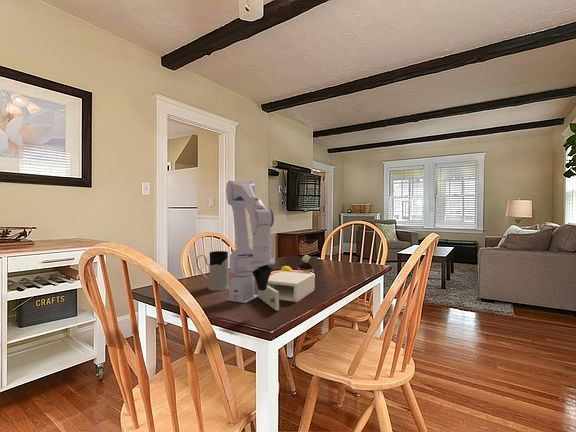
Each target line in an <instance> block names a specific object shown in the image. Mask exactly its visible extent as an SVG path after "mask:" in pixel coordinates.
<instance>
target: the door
mask: <svg viewBox="0 0 576 432" xmlns="http://www.w3.org/2000/svg"><path fill="white" fill-rule="evenodd" d="M257 295H258V297H257V298H259V299H260V300H262V302H264V303H265V304H267V305H268V306H269V307H271V308H272V309H273V310H275V311H279V310H280V300H279V292H278V291H277V290H275V289H273V288H272V287H270V286H269V285H267V288H266V290H264V291H262V290H258V289H257Z"/></svg>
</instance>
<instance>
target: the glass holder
mask: <svg viewBox="0 0 576 432" xmlns="http://www.w3.org/2000/svg"><path fill="white" fill-rule="evenodd" d="M201 256H202V257H203V258H204V259H205V264H206V266H208V271H209V272H208V273H209V278H208V276H207V275H205V274H204V273H203V271H201V269H200V266H199V262H198V261H199V257H201ZM196 267H197V271H199V273H200V274H201V275H202V276H203V277H204V278H205V279H207V281H208V283H209V285H208V290H210V291H225V290H229V253H228V251H225V250H216V251H210V252H209V264H208V258H207V257H206V256H205V255H204V254H199V255H198V256H197V257H196Z"/></svg>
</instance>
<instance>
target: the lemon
mask: <svg viewBox="0 0 576 432" xmlns="http://www.w3.org/2000/svg"><path fill="white" fill-rule="evenodd" d="M281 271H285V272H293V269H292V268H291V267H290V266H288V265H284V266H281V269H280V272H281Z"/></svg>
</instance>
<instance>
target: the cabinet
mask: <svg viewBox="0 0 576 432" xmlns="http://www.w3.org/2000/svg"><path fill="white" fill-rule="evenodd" d="M315 275H316V274H315V273H310V274H307V273H302V272H295V271H292V272H285V271H281V270H280V271H279V272H275V273H274V274H272V275H271V274H270V276H269V279H268V283H267V285H269V286H270V287H272V288H273V289H275V290H277V291H278V292H279V301H287V302H295V303H298V302H300V301H301V300H302V299H303V298H305V297H307V296H308V295H309V294H311V293H312V292H314V291H315V290H316V289H315V288H316V284H315V283H316V281H315V279H316V276H315Z"/></svg>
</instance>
